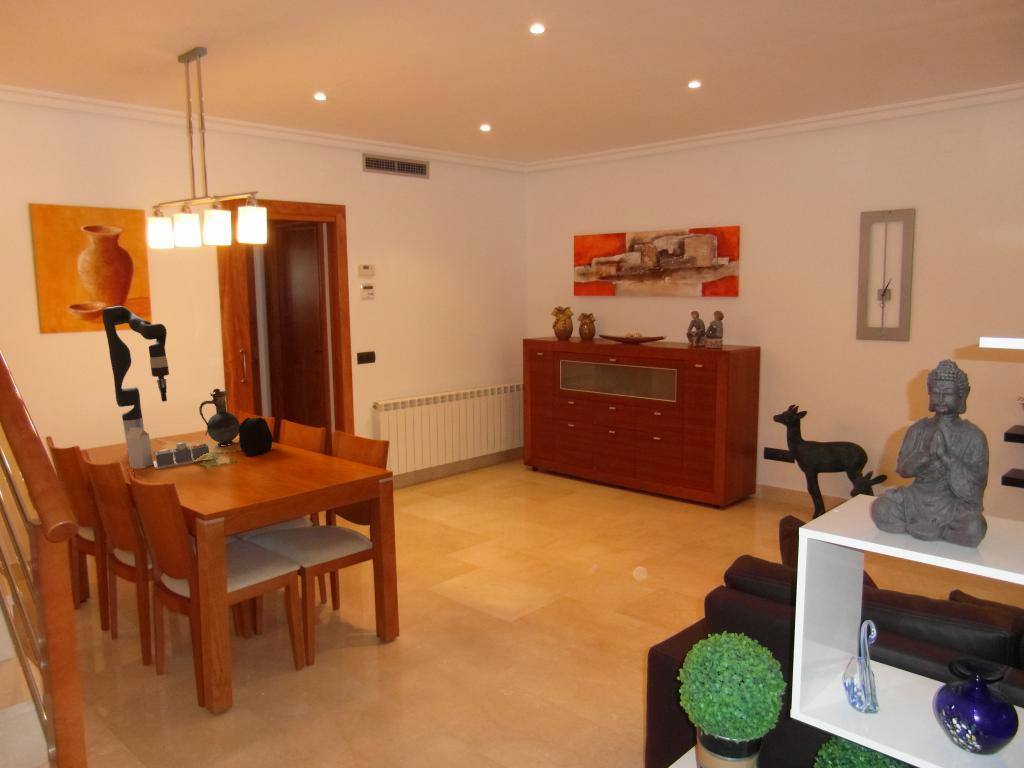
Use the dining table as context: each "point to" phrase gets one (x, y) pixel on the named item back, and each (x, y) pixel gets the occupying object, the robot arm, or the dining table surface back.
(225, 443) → the pitcher
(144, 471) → the dining table surface
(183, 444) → the pale green egg
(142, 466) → the milk carton
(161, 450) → the cream white egg
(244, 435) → the black rounded dome
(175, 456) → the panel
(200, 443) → the brown egg
